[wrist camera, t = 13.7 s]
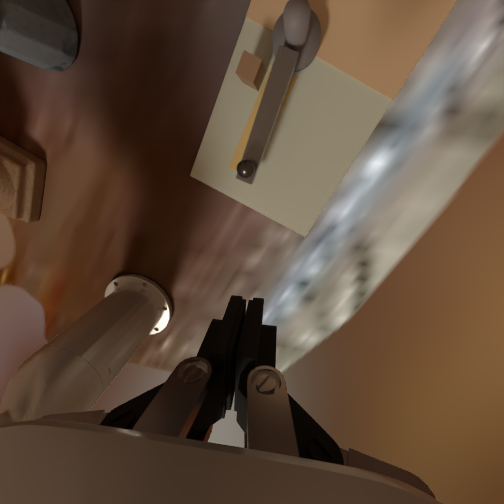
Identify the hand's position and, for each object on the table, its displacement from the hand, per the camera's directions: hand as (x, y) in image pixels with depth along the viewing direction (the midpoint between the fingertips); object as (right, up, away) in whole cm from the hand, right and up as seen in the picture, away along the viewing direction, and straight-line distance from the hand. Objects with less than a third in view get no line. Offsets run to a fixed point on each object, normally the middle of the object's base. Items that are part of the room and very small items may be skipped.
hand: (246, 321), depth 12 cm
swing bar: (+2, +18, +14) cm, 23 cm away
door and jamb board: (+7, +24, +15) cm, 29 cm away
